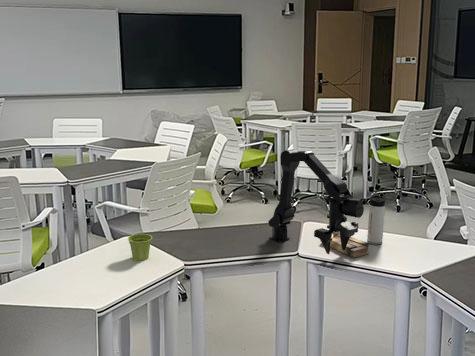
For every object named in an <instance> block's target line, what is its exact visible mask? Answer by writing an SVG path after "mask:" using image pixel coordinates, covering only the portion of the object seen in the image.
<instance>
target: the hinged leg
mask: <svg viewBox="0 0 475 356" xmlns="http://www.w3.org/2000/svg"><path fill="white" fill-rule="evenodd" d="M331 238H332V241H331V242H330V249H333V250H336V251H338V252H340V253H343V254H345V255H347V256H348V257H349V256H350V252H351V249H354V248H355V246H352V245H350V244H347V246H346V248H345V250H342V246H341V241H340V240H337V239H335V238H333V236H332V237H331ZM350 257H351V256H350Z"/></svg>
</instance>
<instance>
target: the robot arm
mask: <svg viewBox="0 0 475 356" xmlns="http://www.w3.org/2000/svg"><path fill="white" fill-rule="evenodd" d="M300 162H304V163H305V164H306V165H307V167H308V168H309V169H310V170H311V171H312V173H314V174H315V176H316V177H317V178H318V179H319V180H320V182H321V183H322V185H323V189H324V190H325V192H326V194H327V195H328V196H327V197H325V199H324V201H325V202H329V206H328V208H329V210H328V215H326V219H329V220H328V224H327V225H326V228H324V227H323V228H317V229H315V230H314V231H313V237H314V238H317V239H319V241H320V242H321V244H322V246H323V249H324V250H325V252H326V254H327V255H330V252H331V247H330V242H331V241H332V238H331V237H333V234H336V233H340V239H341V246H342V250H345V248H346V246H347V243H348V241H349V238H350V237H353V236H354V235H355V234H356V233H358V232H359V222H357V221H356V220H355V221H352V222H351V221H348V217H354V218H358V219H360V218H362V216H363V215H364V211H365V207H364V205H363V203H362V200H361V199H359V198H358V199H355V198H353V195H352V194H351V192H350V191H349V188H348V184H347V182H345V181H344V180H342V179H341V178H340V177H338V176H336V175H334V174H332V173H331V171H329V169H328V168H327V167H326V166H325V165H324V164H323V163H322V161H321V160H319V158H318V157H316V155H315V152H314V151H312V150H307V151H305V150H300V151H299V150H298V149H296V148H293V149H287V150H283V151H282V152H281V153H280V167H281V169H282V177H281V185H280V194H279V201H278V204H277V205H276V207H275V208H274V212H273V216H272V217H271V218H270V219H269V220H268V221H267V222H268V226H269V227H272V229H271V230H272V231H271V236H269V239H270V240H274V241H275V242H277V243H278V242H283V241H287V240H290V239H291V238H290V237H288V225H290V224H291V222H292V221H293V219H294V217H295V212H296V208H295V207H293V206H292V196H293V190H294V180H295V173H296V170H297V169H298V167H299V166H300Z"/></svg>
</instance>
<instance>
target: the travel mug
mask: <svg viewBox="0 0 475 356" xmlns="http://www.w3.org/2000/svg"><path fill="white" fill-rule="evenodd" d="M368 208H369V209H368V222H367V235H366V236H367V239H366V242H367V243H369V245H373V246H378V245H382V244H383V238H384V224H385V223H384V222H385V211H386V198H385V197H384V196H380V195H379V194H377V195H376V194H374V195H372V196H370V198H369V206H368Z"/></svg>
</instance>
